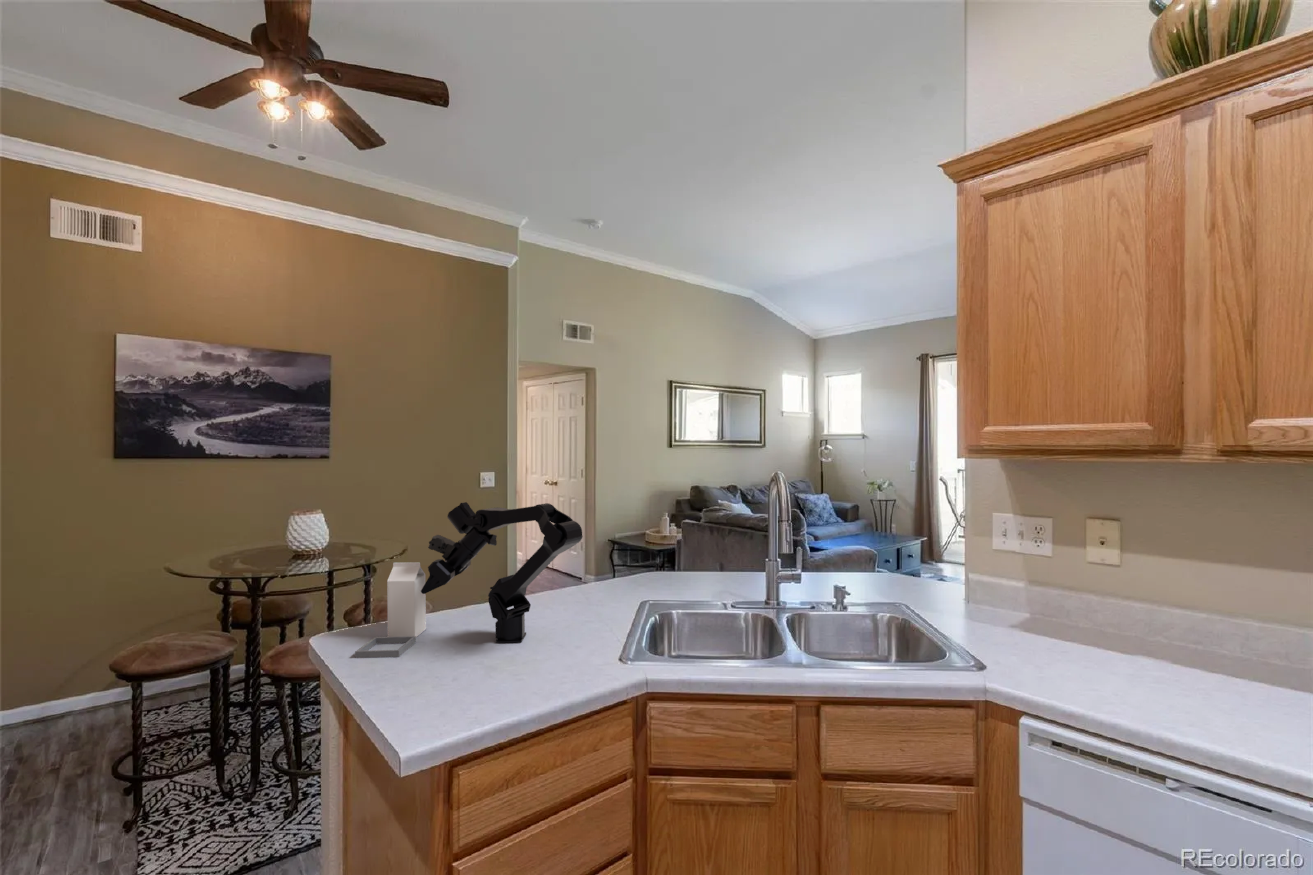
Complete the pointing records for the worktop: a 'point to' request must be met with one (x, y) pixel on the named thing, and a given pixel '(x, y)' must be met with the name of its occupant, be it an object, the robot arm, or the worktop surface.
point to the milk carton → (406, 600)
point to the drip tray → (367, 653)
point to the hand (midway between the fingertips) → (428, 588)
